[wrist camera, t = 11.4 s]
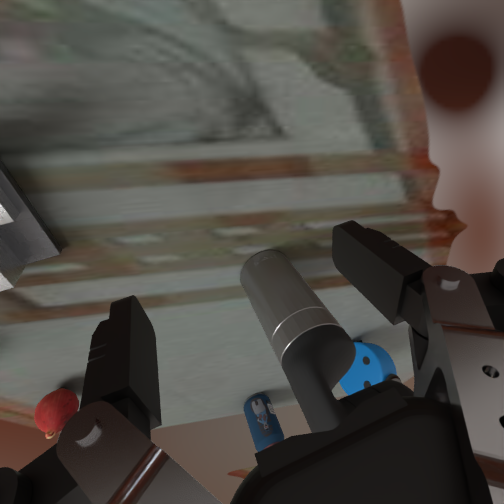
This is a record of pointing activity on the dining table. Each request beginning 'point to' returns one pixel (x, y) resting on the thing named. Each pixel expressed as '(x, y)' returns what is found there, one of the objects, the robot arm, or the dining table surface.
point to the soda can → (262, 421)
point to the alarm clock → (368, 368)
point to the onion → (55, 411)
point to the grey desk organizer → (20, 232)
